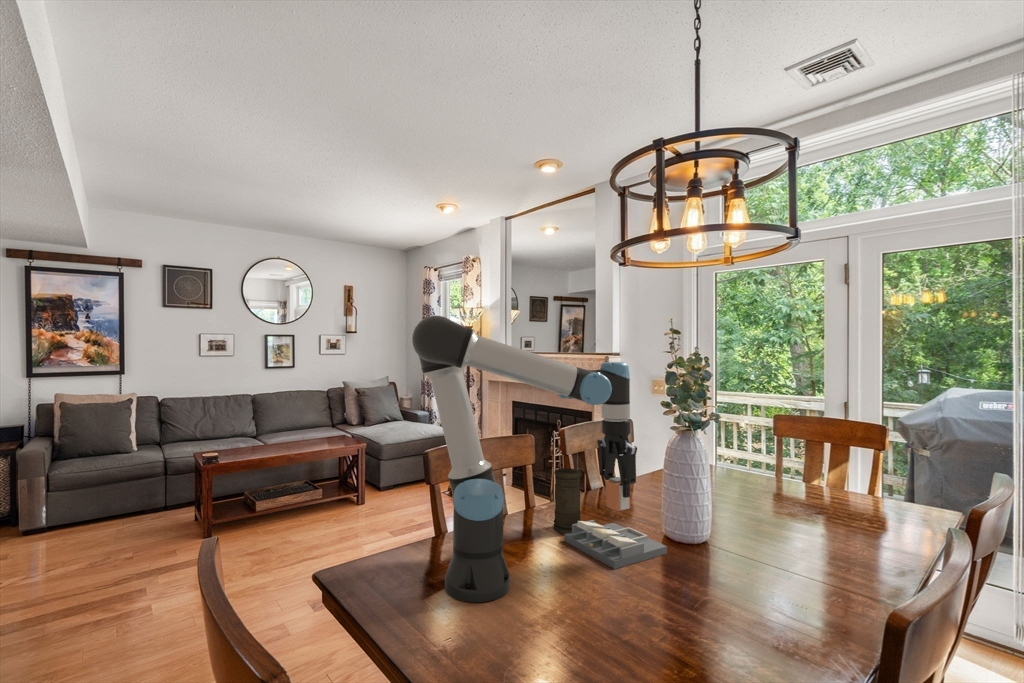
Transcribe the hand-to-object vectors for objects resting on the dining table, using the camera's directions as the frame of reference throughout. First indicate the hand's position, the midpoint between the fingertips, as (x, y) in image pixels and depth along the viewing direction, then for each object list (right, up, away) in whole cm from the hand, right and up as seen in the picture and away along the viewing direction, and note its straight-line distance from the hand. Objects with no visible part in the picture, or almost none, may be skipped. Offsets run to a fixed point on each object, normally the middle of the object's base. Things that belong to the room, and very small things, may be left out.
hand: (617, 506), depth 132 cm
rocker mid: (-2, -10, +5) cm, 11 cm away
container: (-11, -14, +20) cm, 27 cm away
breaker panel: (0, -14, +7) cm, 15 cm away
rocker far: (-5, -10, +11) cm, 15 cm away
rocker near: (+1, -9, -1) cm, 10 cm away
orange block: (0, 0, 0) cm, 0 cm away
